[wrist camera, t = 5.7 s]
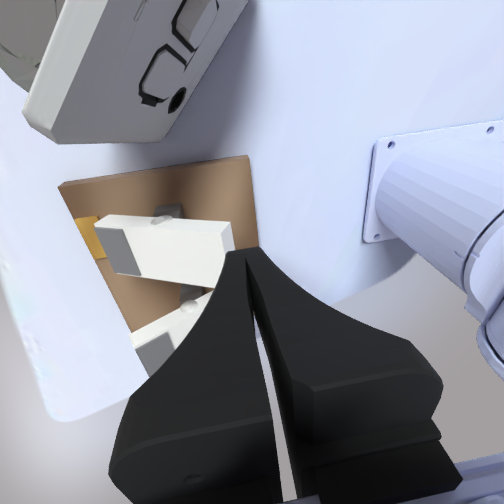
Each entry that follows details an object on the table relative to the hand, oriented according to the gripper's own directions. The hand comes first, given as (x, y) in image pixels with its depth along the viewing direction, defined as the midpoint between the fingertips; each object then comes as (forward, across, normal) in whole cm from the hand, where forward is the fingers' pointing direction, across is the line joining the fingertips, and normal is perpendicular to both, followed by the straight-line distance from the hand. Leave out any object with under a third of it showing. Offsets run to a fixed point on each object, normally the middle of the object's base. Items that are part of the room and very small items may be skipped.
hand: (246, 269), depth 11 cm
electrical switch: (+10, +2, -9) cm, 13 cm away
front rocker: (+5, +4, +2) cm, 7 cm away
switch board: (+9, +4, +4) cm, 11 cm away
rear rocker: (+5, +4, +8) cm, 10 cm away
